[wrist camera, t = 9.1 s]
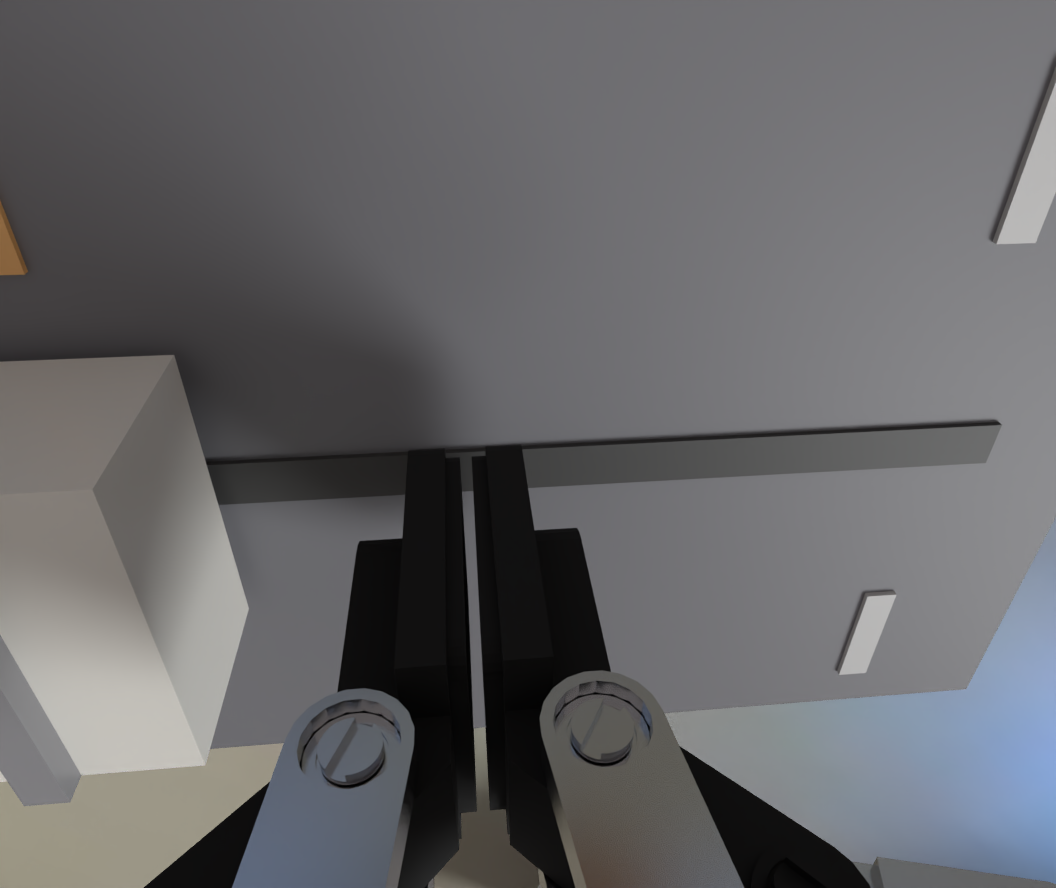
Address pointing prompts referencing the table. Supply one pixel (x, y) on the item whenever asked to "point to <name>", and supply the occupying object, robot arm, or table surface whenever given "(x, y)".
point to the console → (574, 305)
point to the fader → (108, 575)
